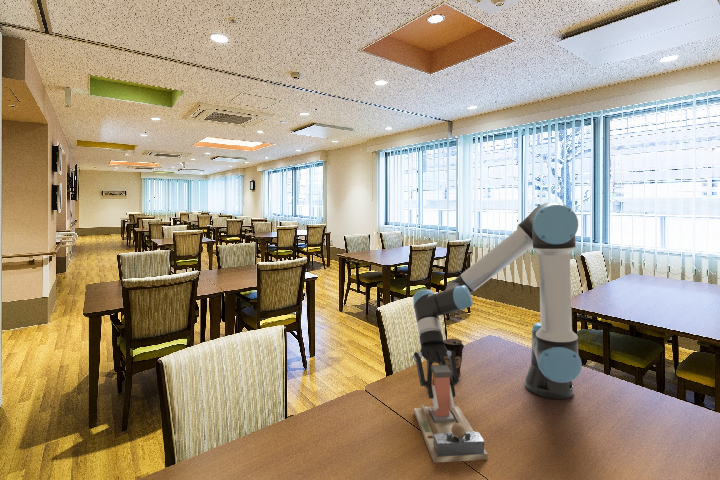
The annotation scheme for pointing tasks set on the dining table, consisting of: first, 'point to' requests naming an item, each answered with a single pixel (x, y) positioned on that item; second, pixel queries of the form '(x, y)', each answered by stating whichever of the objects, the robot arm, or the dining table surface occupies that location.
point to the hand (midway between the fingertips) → (444, 409)
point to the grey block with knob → (458, 444)
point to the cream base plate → (440, 428)
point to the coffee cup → (458, 348)
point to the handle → (441, 394)
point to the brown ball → (458, 430)
